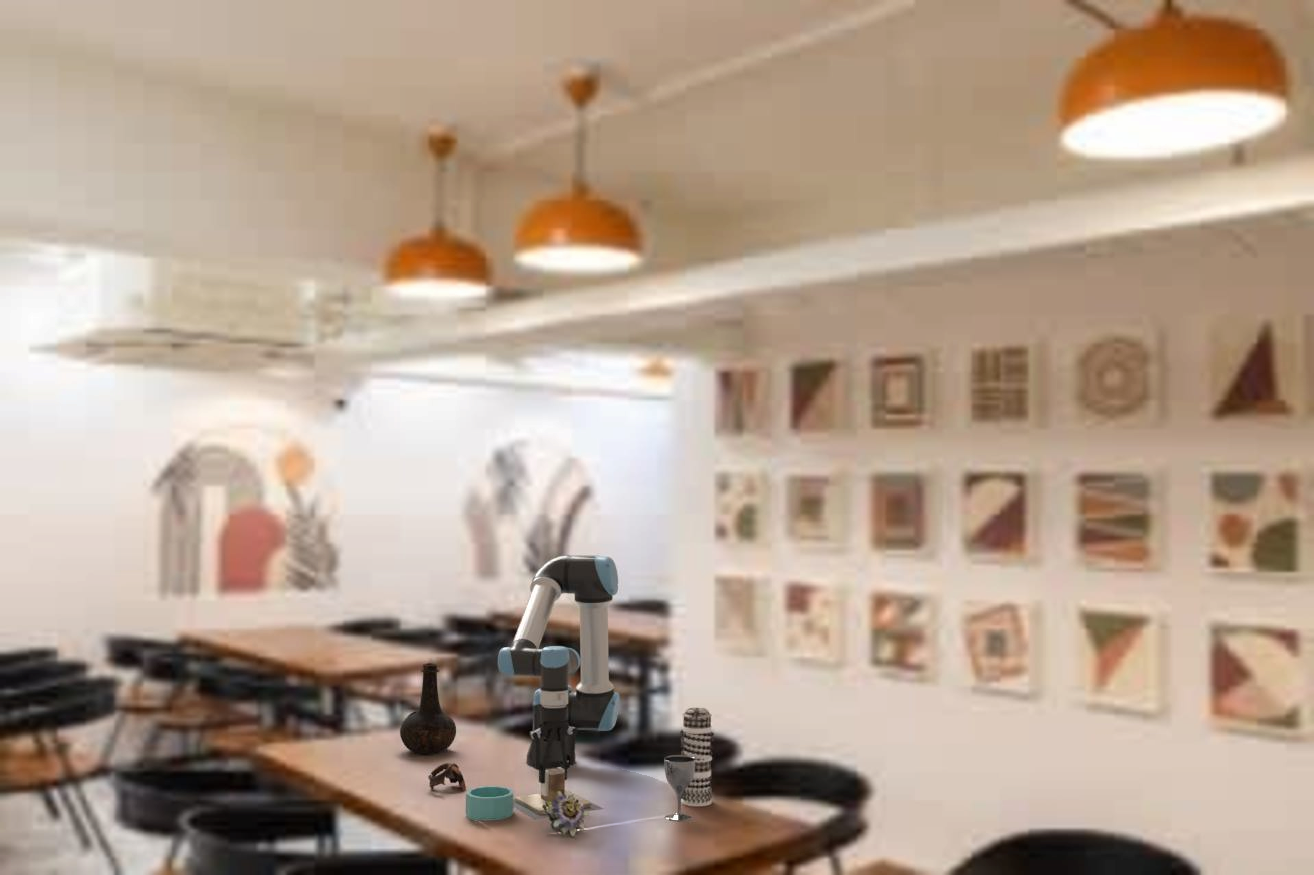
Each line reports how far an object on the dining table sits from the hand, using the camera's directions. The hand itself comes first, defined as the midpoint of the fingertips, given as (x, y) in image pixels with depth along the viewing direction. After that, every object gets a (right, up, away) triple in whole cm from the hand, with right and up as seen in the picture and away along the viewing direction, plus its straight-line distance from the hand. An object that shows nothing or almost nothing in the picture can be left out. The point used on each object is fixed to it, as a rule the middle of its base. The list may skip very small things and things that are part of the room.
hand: (552, 793), depth 306 cm
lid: (0, -3, 0) cm, 3 cm away
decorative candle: (+38, -4, +6) cm, 39 cm away
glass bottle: (-46, -6, +62) cm, 77 cm away
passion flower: (+5, -3, -23) cm, 24 cm away
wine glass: (+33, -4, -9) cm, 35 cm away
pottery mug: (-31, -4, +17) cm, 35 cm away
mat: (0, -3, 0) cm, 3 cm away
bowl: (-15, -3, -10) cm, 18 cm away
